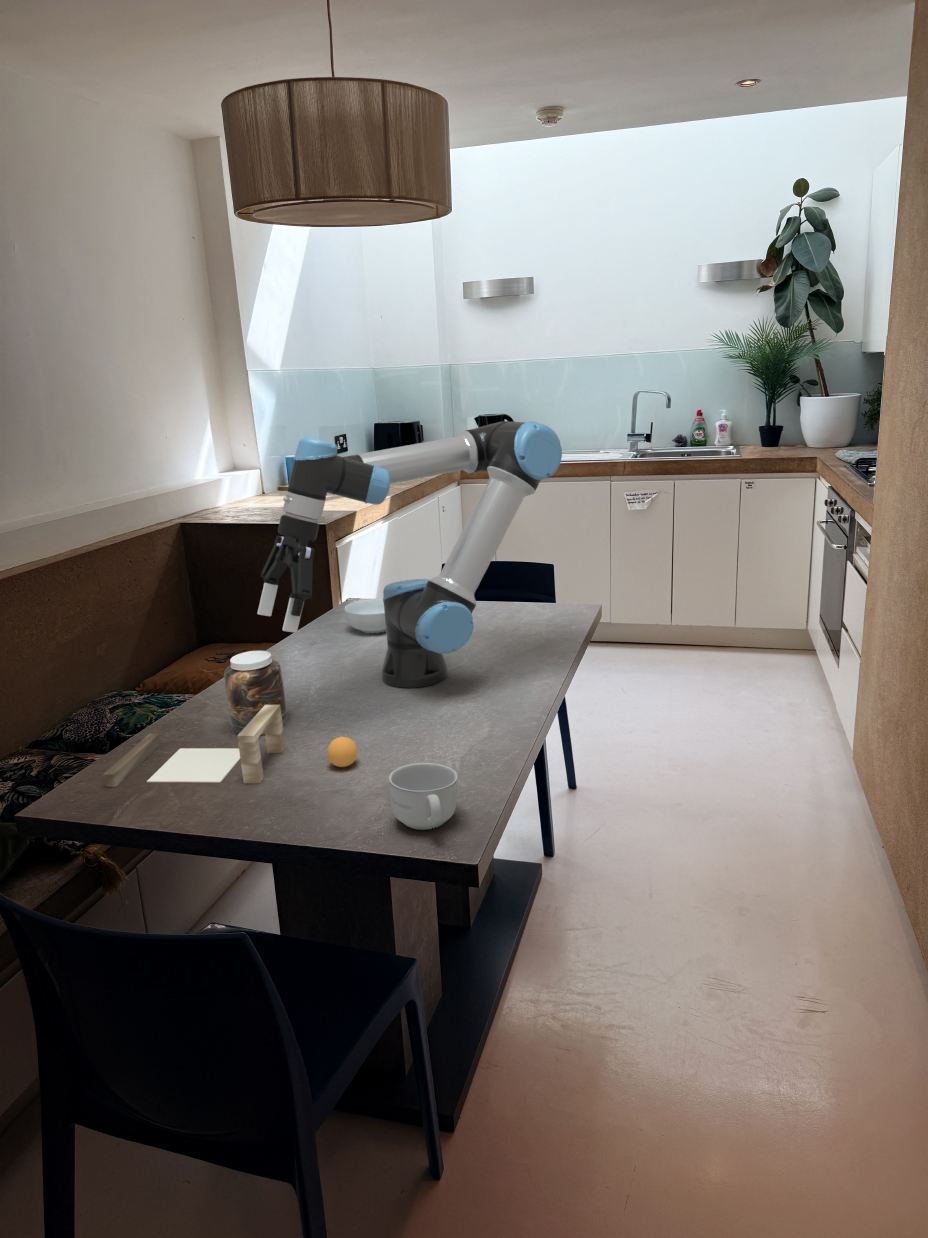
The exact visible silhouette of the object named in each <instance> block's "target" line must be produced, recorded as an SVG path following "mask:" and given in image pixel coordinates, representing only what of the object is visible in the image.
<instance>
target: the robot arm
mask: <svg viewBox="0 0 928 1238" xmlns="http://www.w3.org/2000/svg"><path fill="white" fill-rule="evenodd" d="M562 456H563V450H562V446H561V441H560V437H559V436H558V434H557V433H556V432H555V430H554V429H553V428H551V427H550V426H548V425H546V424H544V423H539V422H535V421H528V422H527V421H526V422H524V421H523V422H522V421H512V420H511V421H510V420H508V421H498V422H495V423H491V424H487V425H483V426H480V427H479V426H478V427H475V428H471V429H466V430H462V431H460V432H459V433H458V435H457V436H452V437H448V438H447V437H446V438H441V439H435V440H431V441H425V442H424V441H423V442H420V443H419V442H417V443H414V444H409V445H408V444H407V445H403V446H398V447H397V446H395V447H391V448H385V449H381V450H374V451H368V452H363V453H358V454H352V455H346V456H340V455H338V446H337V445H336V444H335V443H333V442H329V441H326V440H322V439H318V438H315V437H310V436H303V437H301V438H300V439H299V441H298V444H297V447H296V450H295V453H294V456H293V461H292V462H293V463H292V466H291V472H290V476H289V481H288V486H287V489H286V494H285V496H284V497H283V498H282V499H283V502H284V503H283V507H282V511H283V512H284V514H282V515H280V519H279V524H278V528H277V532H278V534H279V535H276V538H275V540H274V545H273V546H272V549H271V551H270V554H269V556H268V558H267V560H266V562H265V564H264V566H263V569H262V571H261V572H260V573H261V574H260V576H261V578H263V582H264V583H263V588H262V591H261V596H260V600H259V605H258V609H257V613H256V614H257V615H260V616H266V617H271V616H272V615H273V614H272V613H273V609H274V606H275V602H276V601H275V600H276V597H277V592H278V588H279V585H280V584H281V583H280V579H281V577H282V576H283V574H284V573H285V571H286V570H287V568H289V569H290V579H291V590H292V592H291V593H290V595H288V598H289V599H288V604H287V609H286V612H285V616H284V620H283V621H284V622H283V625H282V631H283V632H289V633H296V634H297V633H298V630H299V625H300V621H301V617H302V613H303V608H304V604H305V601H307V600H311V599H312V597H313V573H314V572H313V571H314V570H313V569H314V568H313V566H314V564H313V563H314V557H315V548H313V547H308V543H309V542H315V541H316V540H317V537H318V533H319V528H320V525H319V523H318V521H321V520H322V516H323V512H324V509H325V504H326V500H327V495H328V494H331V495H336V496H339V497H342V498H346V499H349V500H354V501H357V502H361V503H365V504H371V505H376V506H378V505H381V504H382V503H383V502H384V501H385V500H386V498H387V496H388V494H389V492H390V488H391V484H396V483H403V482H408V481H412V480H414V481H415V480H419V479H424V478H428V477H433V476H438V475H444V474H450V473H455V472H459V471H460V472H461V471H464V472H466V473H467V474H473V473H477V472H487V474H488V477H489V478H488V481H487V483H486V484H485V486H484V489H483V490H482V493H481V494H480V496H479V498H478V500H477V502H476V504H475V505H474V507H473V510H472V511H471V513H470V515H469V517H468V519H467V520H466V522H465V525H464V527H463V529H462V530H461V533H460V535H459V536H458V539H457V541H456V542H455V544H454V546H453V548H452V550H451V552H450V553H449V556H448V558H447V560H446V562H445V564H444V565H443V567H442V569H441V571H440V573H439V575H438V576H435V577H432V578H417V579H407V580H400V581H395V582H392V583H388V584H387V585H385V586H384V587H383V592H382V594H383V598H382V599H383V602H384V611H385V622H386V641H387V649H386V653H385V657H384V662H383V665H382V673H381V674H382V680H383V682H384V683H385V684H386V685H389V686H391V687H397V688H403V689H404V688H413V689H414V688H421V687H427V686H432V685H436V684H437V683H440V682H442V681H443V680H445V679H446V677H447V676H448V669H447V668H448V667H447V663H446V661H445V658H444V654H445V655H446V654H451V653H454V652H457V651H459V650H460V649H462V647H464V646H465V645H466V644H467V643H468V641H469V640H470V638H471V637H472V635H473V632H474V626H475V625H474V624H475V623H474V621H473V611H474V610H475V608H476V607H477V601H476V597H475V593H476V590H478V587H479V586H480V583H481V581H482V580H483V578H484V575H485V574H486V572H487V570H488V568H489V566H490V563H491V562H492V560H493V559H494V556H495V554H496V552H497V551H498V548H499V547H500V545H501V544H502V543H501V542H502V540H503V539H504V537H505V535H506V533H507V532H508V529H509V527H510V525H511V523H512V522H513V520H514V518H515V516H516V514H517V512H518V510H519V508H520V506H521V504H522V502H523V501H524V499H525V498H526V497H527V496H530V495H534V494H535V493H536V491H537V488H539V485H540V483H541V481H542V480H546V479H548V478H549V477H552V476H554V474H555V473H556V472H557V471H558V470H559V467H560V465H561V461H562V458H563V457H562ZM280 535H283V536H280Z"/></svg>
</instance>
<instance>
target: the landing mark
mask: <svg viewBox="0 0 928 1238" xmlns="http://www.w3.org/2000/svg"><path fill="white" fill-rule="evenodd" d="M240 761H241V760H240V752H239V747H238V748H225V747H224V748H222V747H221V748H218V747H217V748H215V747H214V748H210V747H209V748H205V747H204V748H201V747H200V748H199V747H198V748H197V747H196V748H193V747H192V748H191V747H190V748H186V747H185V748H179V749H178V750H177V751H176V752H175V753H174V754H173V755H172V756H171V757H169V758H168V759H167V761H166V762H164V764H163V765H161V767H160V768H158V770H157V771H155V773H153V774H152V775H151V777H149V779H147V780H146V783H210V784H211V783H214V784H216V783H221V782H222V781H223V780H224V779H225V778H226V776H227V775H228V774H229V773H230V772H231V771H232V769H234V767H235V766H236V765H237V763H238V762H240Z"/></svg>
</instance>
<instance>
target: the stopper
mask: <svg viewBox="0 0 928 1238" xmlns="http://www.w3.org/2000/svg"><path fill="white" fill-rule="evenodd" d="M161 745H162V743H161V738H160V733H148V734H147V735H146V736H145V737H144V738H142V740H140V741H139V742H138V743H137V744H135V746H134V747H133V748H131V749H130V750H129V751H128V752H127V753H125V755H124V756H122V757H120V759H119V760H118V761H117V762H115V763H114V764H113V765H112V766H111V767H110V768H108V770H106V771H105V772H104V773H102V777H103V781H104V787H105V788H116V787H117V786H119V785H120V784H121V783H122V782H123V781H124V780H126V779H127V777H129V775H130V774H131V773H133V772H134V771H135V770H136V769H137V768H138V767H139V766H140V765H141V764H142V763H144V762H145V760H147V759H148V758H149V757H150V756H151V755H152V754H153V753H154V752H155V751H156V750H157V749H158V748H159V747H161Z"/></svg>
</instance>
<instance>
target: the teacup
mask: <svg viewBox="0 0 928 1238" xmlns="http://www.w3.org/2000/svg"><path fill="white" fill-rule="evenodd" d="M458 779H459V777H458V773H457V771H456V770H454V768H452V767H450V766H447V765H444V764H441V763H435V762H416V763H415V762H414V763H410V764H409V763H408V764H406V765H402V766H399V767H397V768H396V769H394V770H393V771H391V773H390V774H389V776H388V782H389V794H390V795H389V796H390V807H391V810H392V813H393V816H394V817H395V819H397V820H398V821H399V822H401V823H403V824H404V825H405V826H406V827H408V828H411V829H414V830H420V831H421V830H422V831H423V830H424V831H425V830H432V828H433V829H436V828H438V827H440V826H442V825H444V824H445V823H446V822H447V821H448V820H449V819H451V817H452V816H453V815H454V813H455V811H456V808H457V802H458V801H457V799H458V798H457V797H458ZM435 827H436V828H435Z"/></svg>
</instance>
